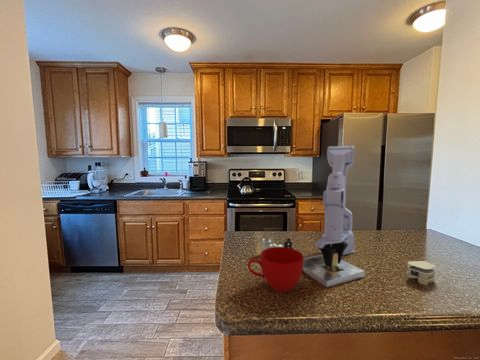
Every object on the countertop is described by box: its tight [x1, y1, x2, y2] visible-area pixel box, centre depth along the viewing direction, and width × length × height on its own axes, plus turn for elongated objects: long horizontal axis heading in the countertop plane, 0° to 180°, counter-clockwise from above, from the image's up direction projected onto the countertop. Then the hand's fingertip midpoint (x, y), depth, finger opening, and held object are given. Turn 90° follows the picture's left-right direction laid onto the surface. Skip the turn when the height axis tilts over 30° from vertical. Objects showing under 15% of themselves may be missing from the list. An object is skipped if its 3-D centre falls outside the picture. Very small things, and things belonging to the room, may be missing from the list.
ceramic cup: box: [247, 247, 304, 293], centre depth 73 cm, size 13×17×10 cm
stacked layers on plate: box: [406, 260, 437, 286], centre depth 77 cm, size 10×9×6 cm
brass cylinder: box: [325, 251, 338, 273], centre depth 82 cm, size 4×4×7 cm
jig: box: [302, 253, 366, 288], centre depth 81 cm, size 16×12×4 cm
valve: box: [260, 238, 294, 252], centre depth 98 cm, size 7×7×12 cm
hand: (332, 264), depth 81 cm, fingers closed on brass cylinder, 4 cm apart
